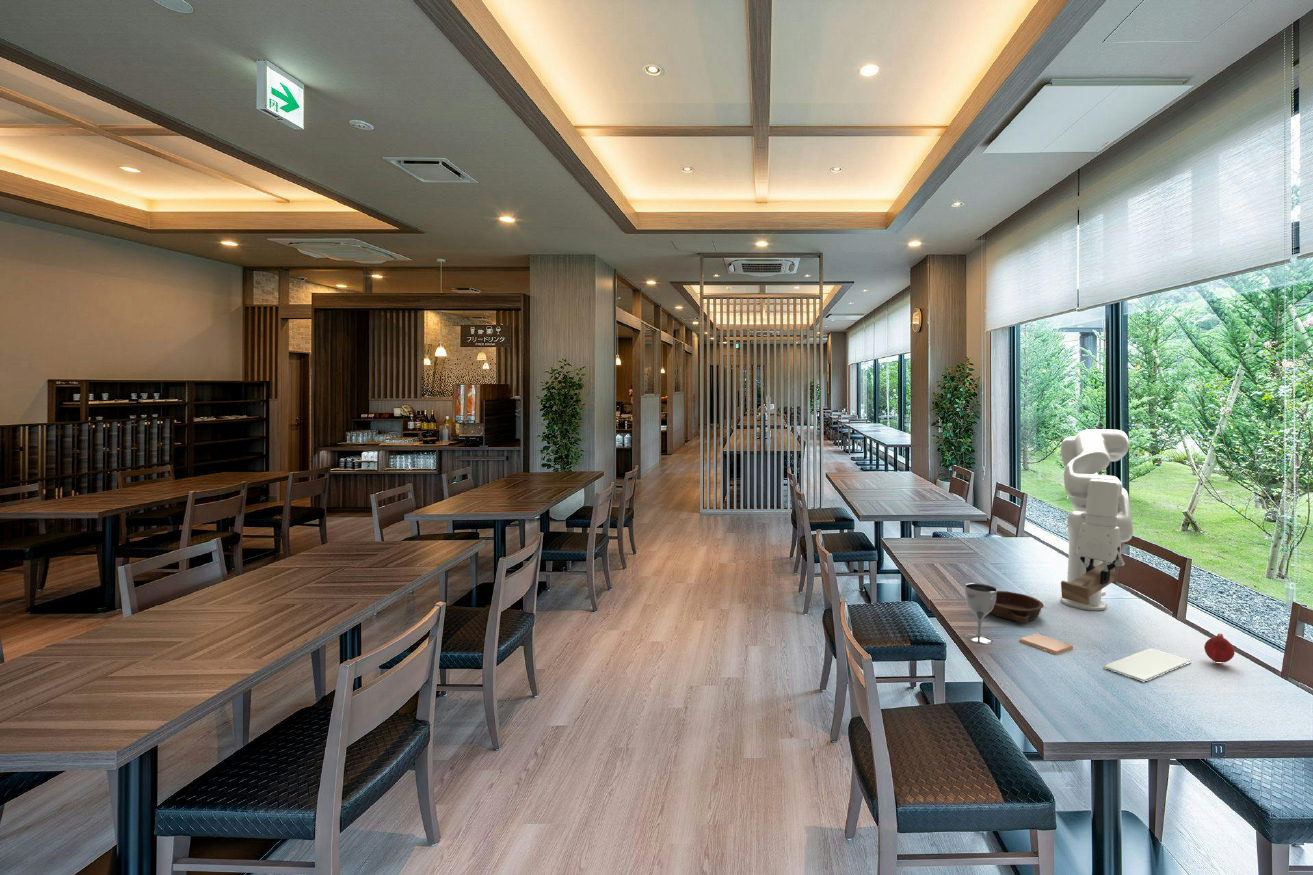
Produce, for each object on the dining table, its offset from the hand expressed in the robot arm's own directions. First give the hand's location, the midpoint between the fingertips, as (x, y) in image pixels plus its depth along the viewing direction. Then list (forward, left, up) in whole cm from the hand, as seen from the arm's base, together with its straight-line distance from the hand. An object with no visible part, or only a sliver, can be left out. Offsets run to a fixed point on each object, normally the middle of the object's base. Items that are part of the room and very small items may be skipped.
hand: (1097, 581), depth 186 cm
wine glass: (+38, -11, -15) cm, 42 cm away
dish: (+9, -20, -15) cm, 27 cm away
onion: (-3, +28, -15) cm, 32 cm away
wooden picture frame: (+21, 0, -14) cm, 25 cm away
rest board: (+15, +20, -15) cm, 29 cm away
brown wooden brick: (+2, 0, -2) cm, 3 cm away
